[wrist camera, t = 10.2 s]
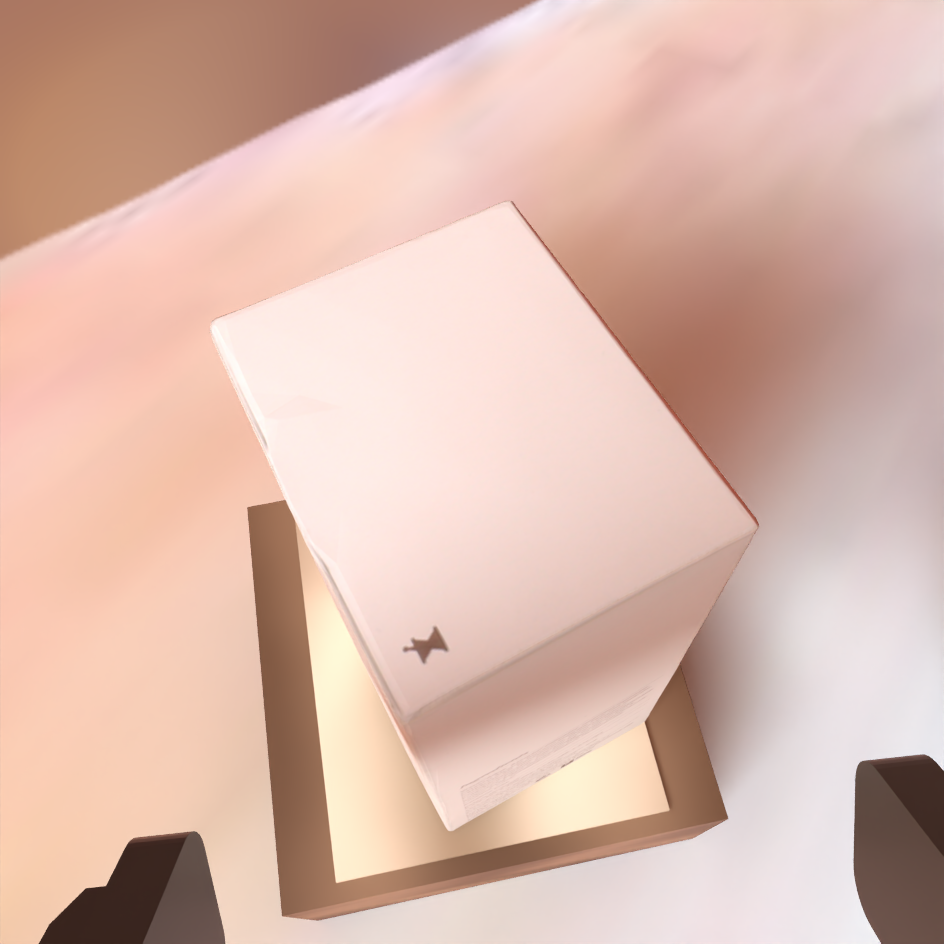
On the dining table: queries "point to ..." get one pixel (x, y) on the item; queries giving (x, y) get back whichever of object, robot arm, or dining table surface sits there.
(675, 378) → the dining table surface
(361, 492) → the small box
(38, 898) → the dining table surface
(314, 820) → the plinth
